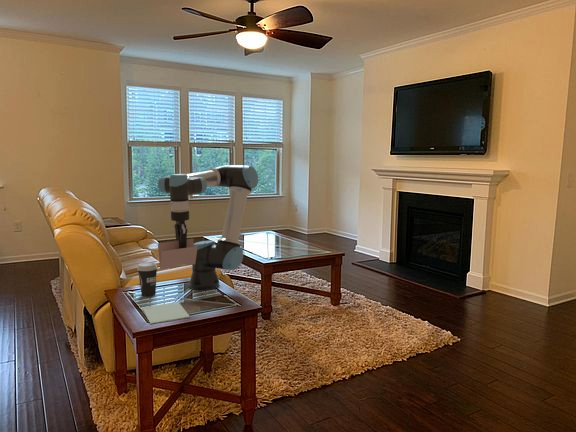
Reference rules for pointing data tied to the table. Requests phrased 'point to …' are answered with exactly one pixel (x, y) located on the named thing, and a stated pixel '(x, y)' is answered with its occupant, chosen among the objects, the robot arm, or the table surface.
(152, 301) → the table surface
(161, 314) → the mat
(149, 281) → the coffee cup
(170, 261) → the greeting card
